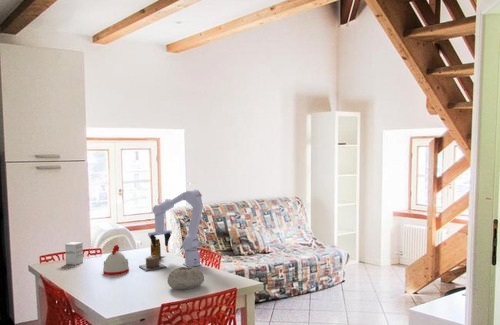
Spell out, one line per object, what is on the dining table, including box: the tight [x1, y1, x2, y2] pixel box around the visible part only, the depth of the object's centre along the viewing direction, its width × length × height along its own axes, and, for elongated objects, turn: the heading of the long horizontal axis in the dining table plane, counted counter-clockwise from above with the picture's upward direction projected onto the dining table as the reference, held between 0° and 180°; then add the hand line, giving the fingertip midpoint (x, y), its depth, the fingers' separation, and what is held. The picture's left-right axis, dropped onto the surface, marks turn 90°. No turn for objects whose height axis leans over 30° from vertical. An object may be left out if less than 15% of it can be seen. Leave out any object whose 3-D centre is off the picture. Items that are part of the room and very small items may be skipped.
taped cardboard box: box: [145, 255, 160, 267], centre depth 260 cm, size 5×5×6 cm
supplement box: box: [64, 241, 84, 266], centre depth 275 cm, size 7×7×13 cm
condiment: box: [150, 238, 166, 260], centre depth 284 cm, size 7×8×12 cm
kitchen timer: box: [102, 244, 130, 276], centre depth 252 cm, size 14×14×15 cm
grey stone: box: [167, 266, 205, 291], centre depth 218 cm, size 18×18×10 cm
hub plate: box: [138, 262, 167, 272], centre depth 260 cm, size 12×12×4 cm
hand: (160, 246), depth 273 cm, fingers open, 7 cm apart
